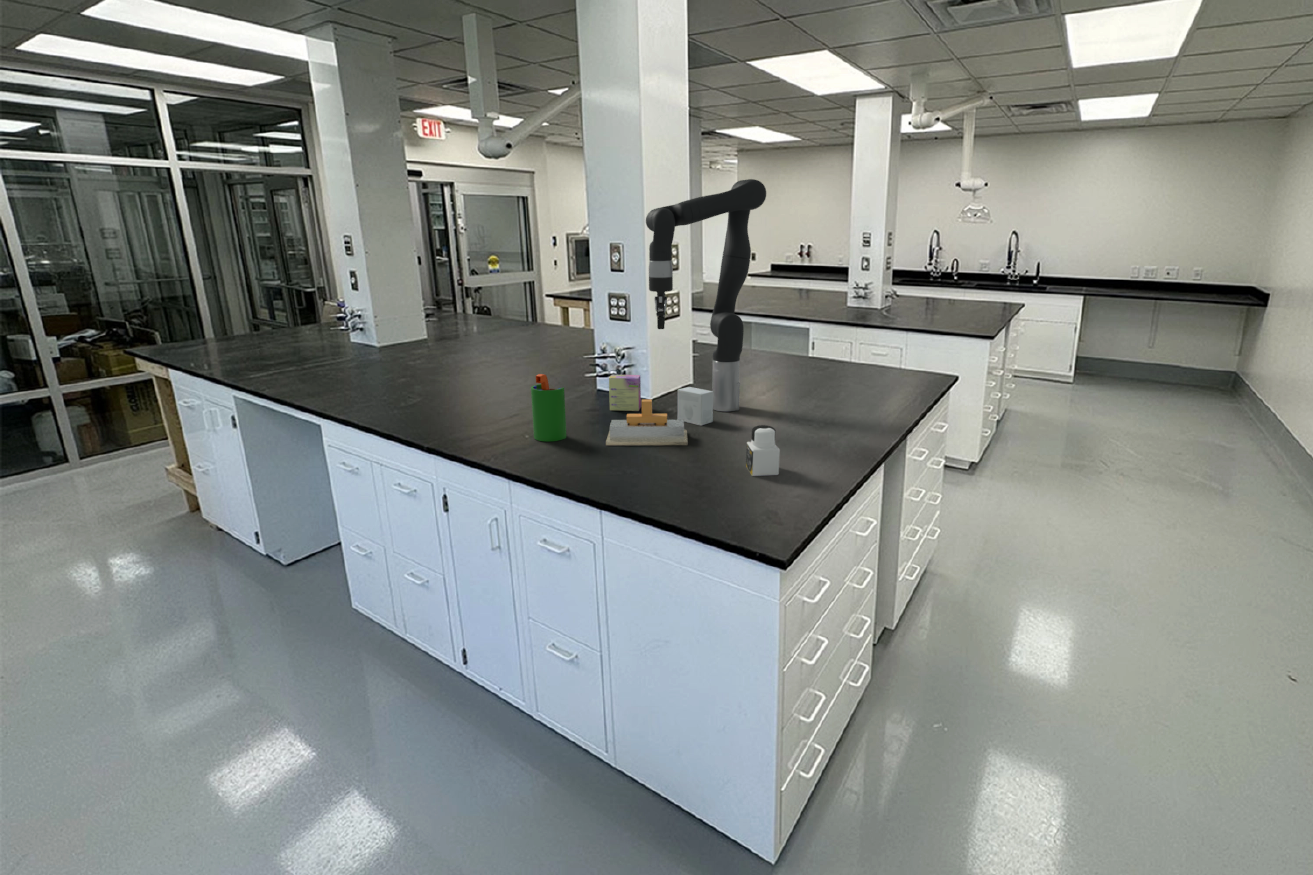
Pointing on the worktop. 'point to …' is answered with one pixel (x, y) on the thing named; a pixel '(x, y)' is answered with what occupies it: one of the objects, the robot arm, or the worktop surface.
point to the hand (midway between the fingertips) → (661, 327)
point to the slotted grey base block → (647, 433)
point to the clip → (646, 415)
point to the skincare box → (695, 405)
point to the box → (625, 392)
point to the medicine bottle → (762, 452)
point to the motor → (548, 411)
